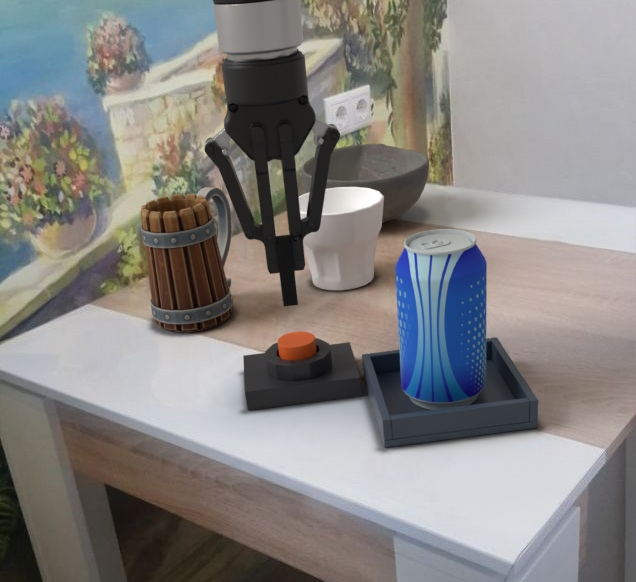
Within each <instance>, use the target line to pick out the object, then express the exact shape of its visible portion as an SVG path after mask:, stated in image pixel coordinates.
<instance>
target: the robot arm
mask: <svg viewBox="0 0 636 582" xmlns="http://www.w3.org/2000/svg"><path fill="white" fill-rule="evenodd" d="M212 8H213V14H214V23H215V30H216V36H217V43H218V51H220V52H221V53H222V54H224V55H226V58H224V59H223V60H222V62H221V64H220V65H221V74H222V81H223V88H224V95H225V101H226V114H225V117H224V120H223V128H222V129H221V130H220V131H218V132H217V133H216V134H215V135H214V136H213V137H208V138H207V139H205V142H204V152H205V155H207V157H208V158H209V159H210V160H211V162H212V163H213V164H214V165H215V166H216V167H217V168H218V171H219V173H220V176H221V178H222V181H223V183H224V186H225V190H226V191H227V194H228V196H229V199H230V201H231V204H232V207H233V209H234V211H235V214H236V217H237V220H238V222H239V224H240V227H241V230H242V233H243V234H244V237H245V238H246V239H247V240H250V241H252V240H256V241H260V242H261V243H262V244H263V246H264V250H265V252H264V253H265V259H266V260H265V261H266V267H267V271H268V274H269V275H275V274H279V280H280V290H281V298H282V303H283V304H282V305H283V307H293V306H299V300H298V290H297V282H296V272H299V271H304V270H305V267H306V259H305V249H304V246H303V239H304V237H305V236H306V235H307V234H309V233H311V232H317V231H318V230H319V228H320V223H321V217H322V210H323V204H324V197H325V190H326V184H327V177H328V170H329V164H330V157H331V154H332V152H333V150H334V149H336V146H337V144H338V143H339V140H340V138H341V133H340V131H339V129H338V126H336V124H333V123H329V124H328V123H327V122H325V121H323V120H321V119H320V118H318V117H317V115H316V112H315V109H314V108H313V106H312V104H311V102H310V99H309V87H308V77H307V67H306V55H305V54H303V51H301V50H299V47H300V46H302V44H303V43H304V32H303V21H302V20H303V19H302V10H301V0H212ZM311 131H313V137H312V139H313V142H314V144H315V146H316V147H315V153H314V157H315V158H314V165H313V172H312V179H311V186H310V193H309V200H308V207H307V214H306V217H305V218H303V219H301V216H300V206H299V196H300V195H299V188H298V179H297V178H298V177H297V168H296V158H295V156H297V155H298V154H299V152H300V151H301V149H302V147H303V146H304V144H305V142H306V140H307V138H308V137H309V135H310V133H311ZM231 140H232V142H234V143H235V144H236V146H237V147H238V148H239V149H240V150H241V151H242V152H243V153H244V154H245V156H247V158H248V159H250V160H251V161H253V163H254V169H255V178H256V187H257V194H258V202H259V203H258V204H259V211H260V219H261V223H258V222H256V221H255V218H254V216H253V214H252V210H251V208H250V206H249V203H248V199H247V197H246V195H245V192H244V190H243V187H242V185H241V182H240V179H239V177H238V174H237V172H236V168H235V166H234V164H233V161H232V159H231V157H230V155H231V154H232V145H231V144H230V141H231ZM274 160H276V161H280V163H281V173H282V182H283V190H284V198H285V207H286V215H287V216H286V217H287V225H288V226H287V227H288V233H289V234H282V235H277V234H276V226H275V224H276V223H275V217H274V216H275V215H274V209H273V208H274V207H273V199H272V189H271V182H270V173H269V171H270V170H269V162H271V161H274Z"/></svg>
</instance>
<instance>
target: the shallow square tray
mask: <svg viewBox="0 0 636 582" xmlns="http://www.w3.org/2000/svg"><path fill="white" fill-rule="evenodd" d="M361 362H362V375H363V382H364V385H365V388H366V391H367V394H368V398H369V401H370V404H371V407H372V411H373V415H374V417H375V421H376V425H377V427H378V431H379V434H380V439H381V441H382V444H383V447H384V448H393V447H400V446H409V445H416V444H422V443H423V444H424V443H431V442H437V441H438V442H439V441H447V440H454V439H463V438H469V437H477V436H485V435H492V434H499V433H508V432H516V431H523V430H532V429H537V428H538V419H539V417H538V416H539V400H538V398H537V396H536V394H535V393H534V391H533V390H532V389H531V387H530V386H529V384H528V382H527V380H526V379H525V377H524V376H523V374H522V373H521V372H520V371H519V369H518V367H517V366H516V364H515V362H514V361H513V360H512V358H511V357H510V355H509V354H508V352H507V350H506V349H505V347H504V346H503V344H502V343H501V341H500V340H499V338H498V337H495V336H494V337H489V338H488V337H486V386H485V388H484V389H483V391H482V392H481V393H480V394H479V395H478V398H477V399H476V400H475V401H474V402H473V403H472V404H470V405H467V406H459V407H452V408H444V409H436V410H428V409H424V408H421V407H419V406H417V405H416V404H414V403H413V402H412V401H411V399H410V397H409V396H408V395H407V394H406V393H405V392H404V391H403V389H402V386H401V369H400V350H399V349H393V350H392V349H391V350H385V351H378V352H370V353H363V354H361Z"/></svg>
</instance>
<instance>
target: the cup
mask: <svg viewBox="0 0 636 582" xmlns="http://www.w3.org/2000/svg"><path fill="white" fill-rule="evenodd" d="M309 193H310V192H309ZM309 193H307V192H306V193H303V194H302V195H298V196H299V206H300V216H301V219H303V218H305V217H306V214H307V207H308V200H309ZM383 203H384V196H383V195H382V194H381V193H380V192H379V191H376V190H373V189H370V188H362V187H336V188H329V189H326V190H325V197H324V204H323V210H322V217H321V223H320V228H319V230H318V231H317V232H311V233H309V234H307V235H306V236H305V237H304V239H303V247H304V254H305V256H306V259H307V264H308V266H309V270H310V274H311V281H312V283H313V285H314V287H317V288H318V289H320V290H326V291H333V292H334V291H335V292H336V291H337V292H338V291H339V292H340V291H342V292H343V291H350V290H355V289H358V288H362V287H364V286H366V285H368V284H369V283H371V282H372V281H373V280H374V278H375V261H376V251H377V242H378V236H379V234H380V232H381V229H382V227H383V223H382V216H383Z"/></svg>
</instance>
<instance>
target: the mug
mask: <svg viewBox="0 0 636 582" xmlns="http://www.w3.org/2000/svg"><path fill="white" fill-rule="evenodd" d="M211 199H212V201H213V203H214V206H215V208H216V214H217V228H218V230H217V229H216V224H215V220H214V215H212V213H211V209H210V205H209V202H210V200H211ZM140 220H141V225H140V232H141V240H142V243H143V244H144V251H145V259H146V267H147V268H146V269H147V274H148V283H149V291H150V309H151V310H150V311H151V316H152V318H153V320H154V323H155V324H156V325H157V326H158V327H159V328H161V329H163V330H165V331H168V332H173V333H192V332H193V333H194V332H199V331H204V330H208V329H211V328H214V327H216V326H219V325H221V324H222V323H224V322H225V321H226V320H228V319H229V317H230V316H231V314H232V313H233V312H234V302H233V297H232V293H231V287H232V278H231V277H226V273H225V268H224V267H225V265H226V261H227V258H228V256H229V251H230V248H231V244H232V243H231V242H232V234H233V233H232V229H233V228H232V227H233V226H232V225H233V224H232V212H231V206H230V201H229V200H228V197H227V195H226V194H225V192H224V191H223V190H222V189H221V188H220V187H212V186H211V187H209V186H206V187H203V188H201V189H200V190H199V191H198V192H197V193H196V194H195V193H187V194H186V195H185V196H184V194H182V193H179V194H173V195H171V197H170V198H169V197H168V196H167V195H166V196H161V197H160V196H159V197H158V198H157V199H156V200H155V199H152V200H149V201H146V203H145V204H143V205H141V207H140ZM217 232H218V233H217ZM216 233H217V235H216Z"/></svg>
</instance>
